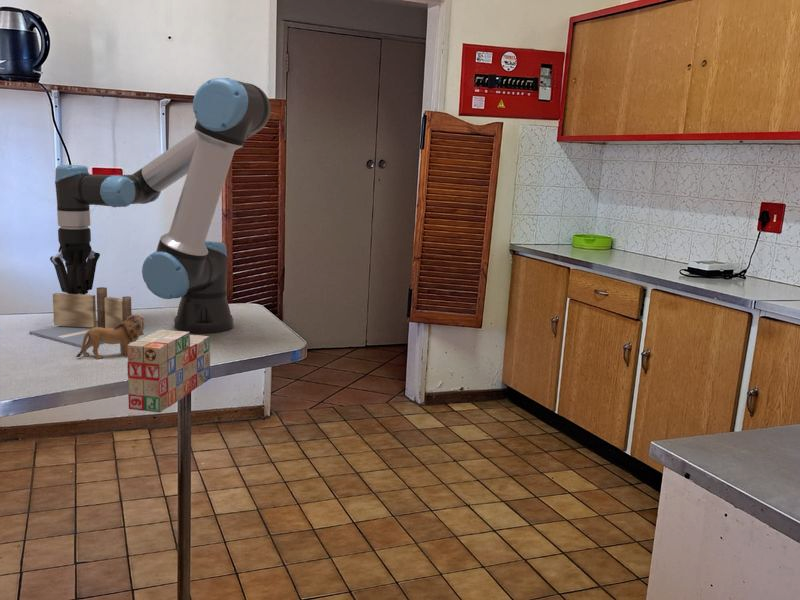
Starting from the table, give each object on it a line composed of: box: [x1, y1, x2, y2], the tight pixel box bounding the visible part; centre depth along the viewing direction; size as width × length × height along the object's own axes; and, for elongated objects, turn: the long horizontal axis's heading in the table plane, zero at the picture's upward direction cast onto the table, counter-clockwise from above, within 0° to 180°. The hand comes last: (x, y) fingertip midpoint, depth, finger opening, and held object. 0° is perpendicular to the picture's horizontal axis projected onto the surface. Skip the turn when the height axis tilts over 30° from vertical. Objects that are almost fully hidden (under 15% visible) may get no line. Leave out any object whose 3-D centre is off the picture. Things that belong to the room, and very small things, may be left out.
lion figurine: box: [75, 314, 145, 360], centre depth 165 cm, size 15×5×9 cm, turn 125°
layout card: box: [29, 320, 144, 348], centre depth 183 cm, size 20×18×1 cm
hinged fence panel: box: [52, 292, 97, 327], centre depth 186 cm, size 10×2×8 cm, turn 89°
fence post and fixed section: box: [96, 286, 132, 328], centre depth 184 cm, size 12×2×11 cm, turn 59°
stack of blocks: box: [126, 329, 211, 413], centre depth 142 cm, size 21×6×12 cm, turn 170°
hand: (78, 318), depth 191 cm, fingers closed
